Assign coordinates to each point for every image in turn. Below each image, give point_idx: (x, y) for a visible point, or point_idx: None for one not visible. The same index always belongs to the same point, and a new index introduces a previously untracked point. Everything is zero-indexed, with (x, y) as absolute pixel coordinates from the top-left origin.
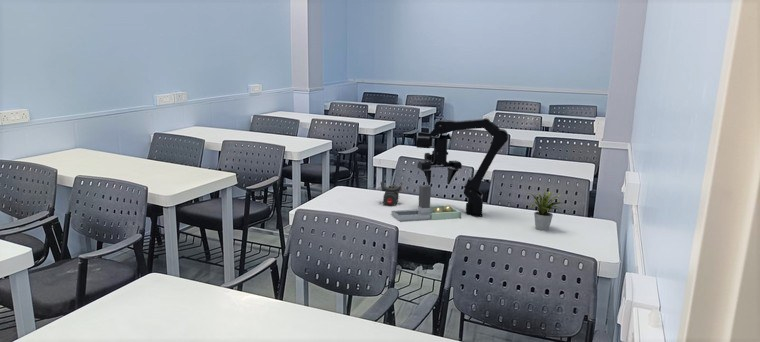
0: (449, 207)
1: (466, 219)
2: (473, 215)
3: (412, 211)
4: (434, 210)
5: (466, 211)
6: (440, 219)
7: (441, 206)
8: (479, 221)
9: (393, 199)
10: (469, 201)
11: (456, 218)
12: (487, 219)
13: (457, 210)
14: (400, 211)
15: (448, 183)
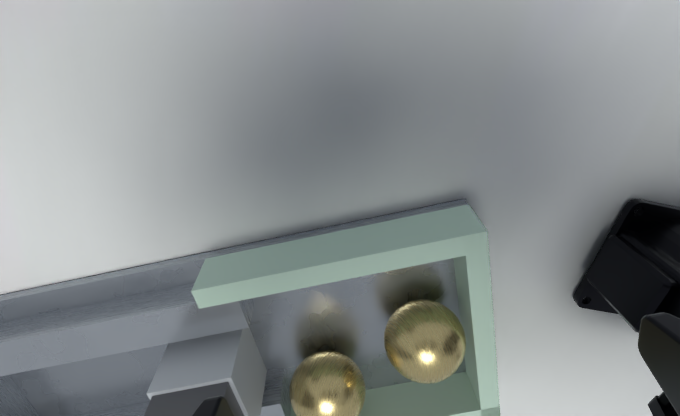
0: (436, 382)
1: (521, 368)
2: (615, 312)
3: (118, 350)
4: (294, 411)
5: (595, 288)
6: None
7: (397, 266)
8: (583, 400)
9: None
10: (654, 409)
11: None
12: None
13: (490, 385)
14: (13, 370)
15: (650, 365)
